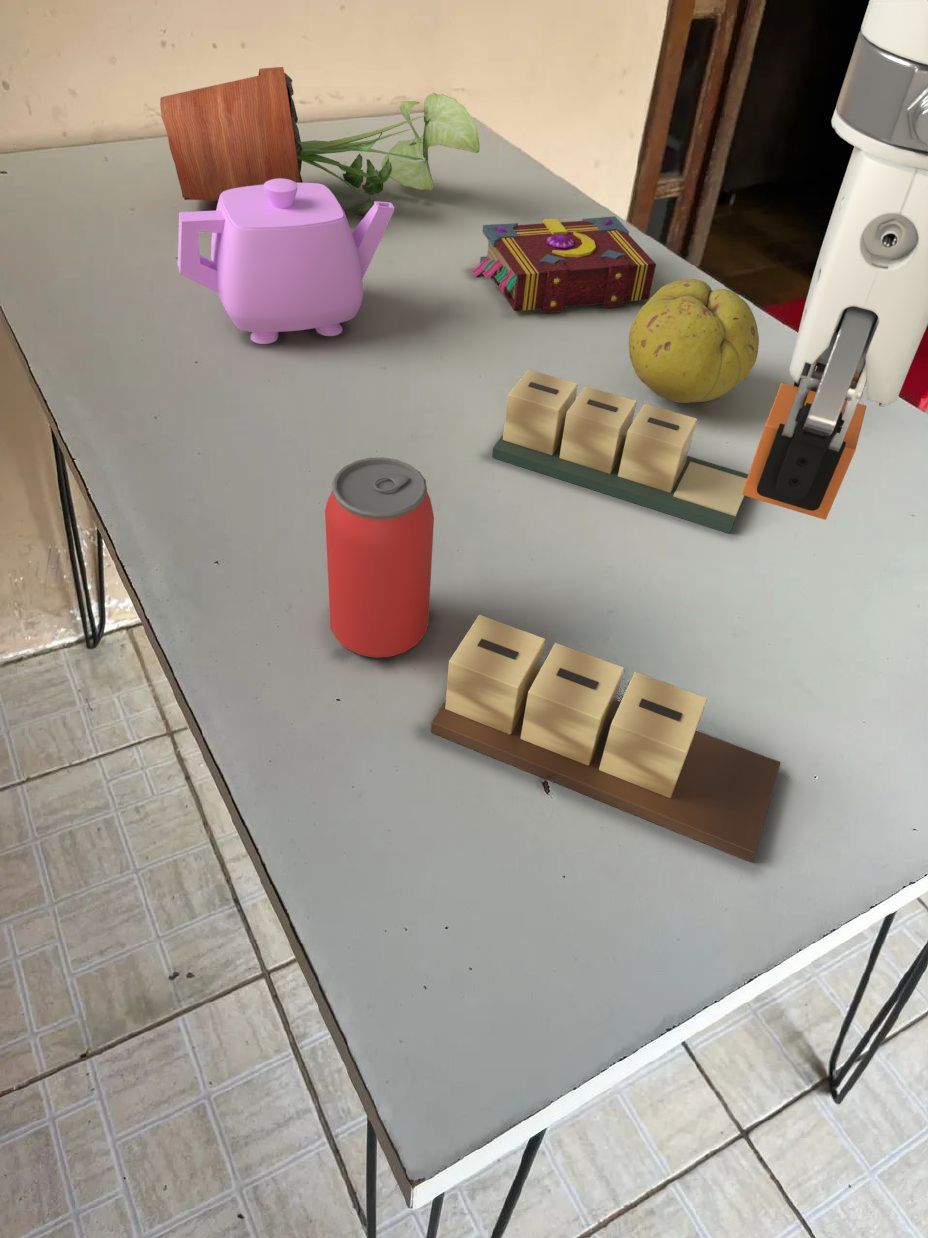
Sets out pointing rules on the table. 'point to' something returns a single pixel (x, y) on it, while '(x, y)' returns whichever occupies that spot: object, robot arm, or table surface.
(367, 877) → the table surface
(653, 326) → the fruit
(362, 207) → the potted plant
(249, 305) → the teapot
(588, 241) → the decorative book
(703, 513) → the slotted cube rack
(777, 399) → the orange slotted cube
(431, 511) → the beer can
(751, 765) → the slotted cubes on board
